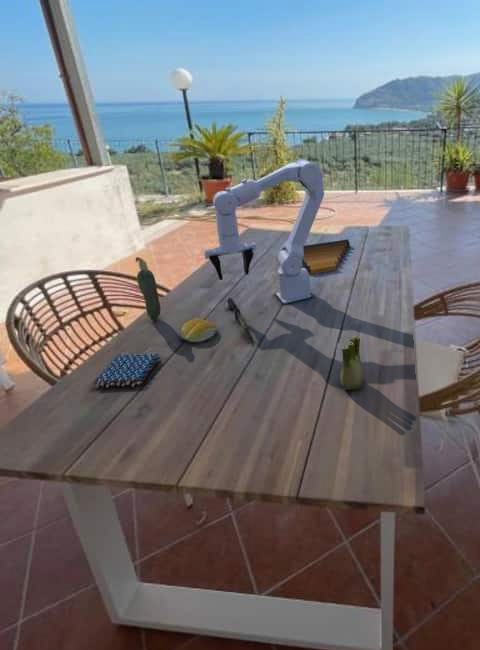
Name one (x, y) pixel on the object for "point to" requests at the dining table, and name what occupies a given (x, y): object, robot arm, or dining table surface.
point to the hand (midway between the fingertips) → (233, 276)
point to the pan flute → (324, 256)
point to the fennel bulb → (351, 365)
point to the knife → (238, 316)
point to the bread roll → (198, 330)
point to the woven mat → (127, 370)
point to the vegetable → (148, 289)
